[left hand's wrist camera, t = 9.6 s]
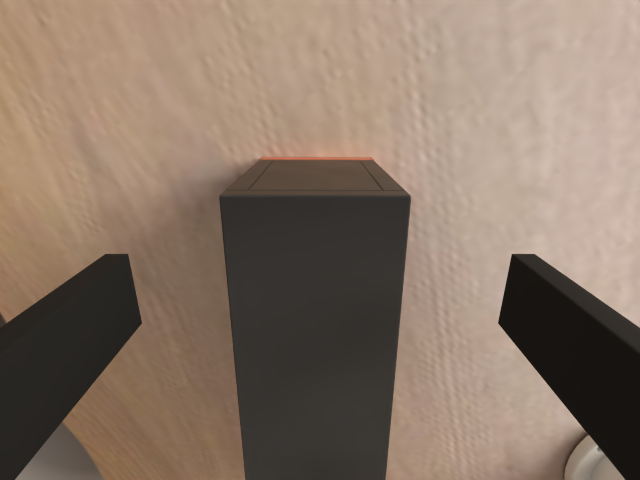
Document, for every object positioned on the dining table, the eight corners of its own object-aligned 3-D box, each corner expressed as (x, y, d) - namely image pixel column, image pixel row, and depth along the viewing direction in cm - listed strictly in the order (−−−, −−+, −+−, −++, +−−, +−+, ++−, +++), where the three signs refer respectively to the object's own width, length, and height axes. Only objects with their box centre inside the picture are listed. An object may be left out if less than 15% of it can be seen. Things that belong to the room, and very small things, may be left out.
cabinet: (360, 368, 29) (383, 508, 19) (272, 368, 29) (247, 508, 19) (371, 157, 23) (412, 195, 13) (261, 157, 23) (218, 194, 13)
